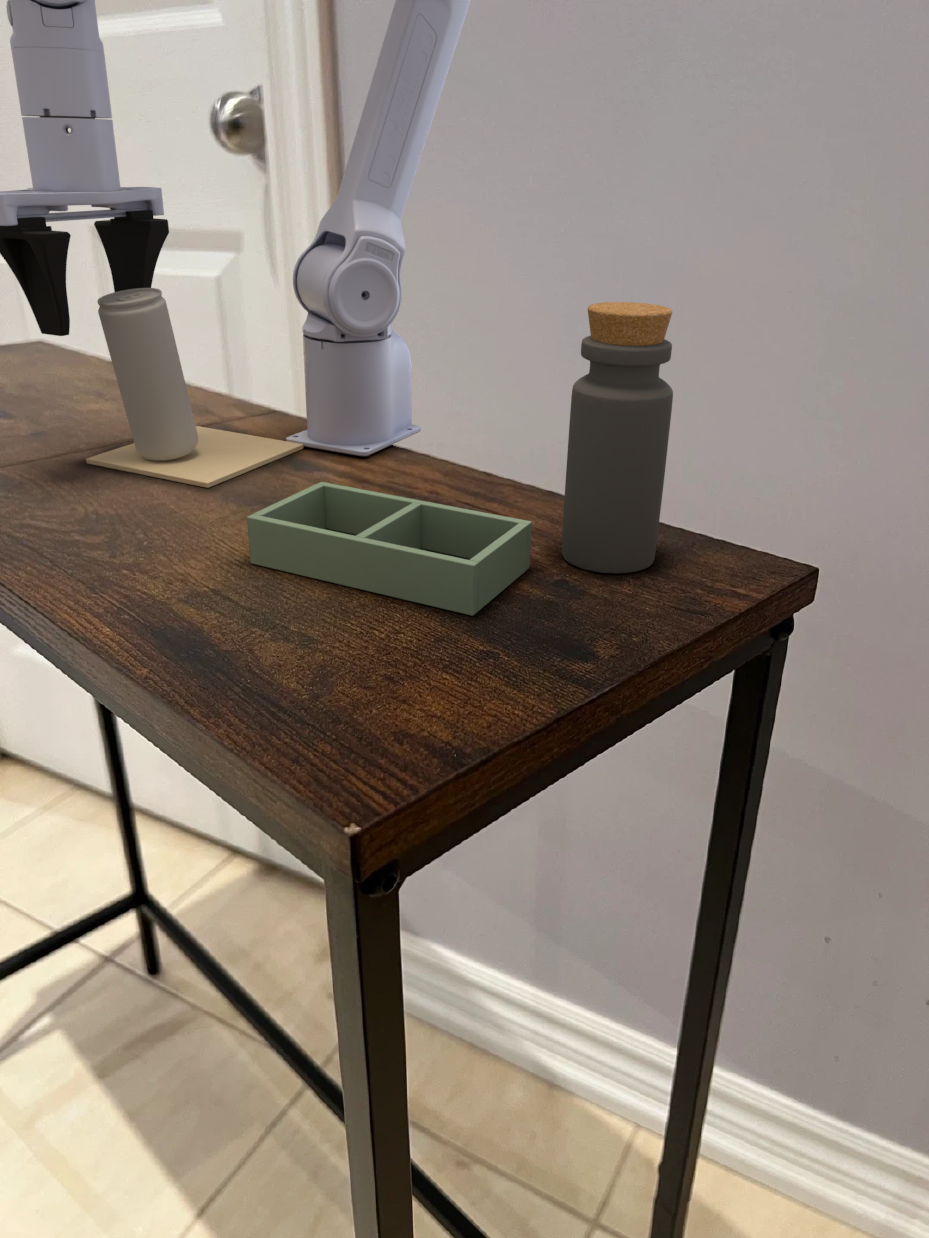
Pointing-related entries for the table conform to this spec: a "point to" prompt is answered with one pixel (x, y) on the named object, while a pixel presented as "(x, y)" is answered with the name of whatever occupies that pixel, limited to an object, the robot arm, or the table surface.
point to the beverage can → (148, 372)
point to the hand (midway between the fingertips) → (96, 326)
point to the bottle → (618, 440)
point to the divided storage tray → (392, 545)
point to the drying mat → (202, 458)
